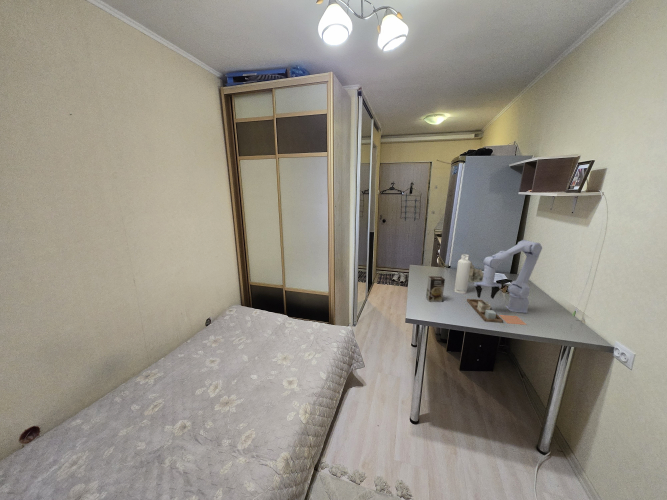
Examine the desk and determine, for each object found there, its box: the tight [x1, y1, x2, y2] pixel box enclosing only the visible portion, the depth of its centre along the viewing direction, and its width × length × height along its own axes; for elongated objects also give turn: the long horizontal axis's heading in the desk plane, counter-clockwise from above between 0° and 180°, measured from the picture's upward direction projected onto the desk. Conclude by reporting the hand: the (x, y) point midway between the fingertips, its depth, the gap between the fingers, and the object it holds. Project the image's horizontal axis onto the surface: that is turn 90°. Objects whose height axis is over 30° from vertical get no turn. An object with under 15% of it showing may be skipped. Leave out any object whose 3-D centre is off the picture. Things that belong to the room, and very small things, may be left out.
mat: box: [498, 314, 528, 326], centre depth 143 cm, size 10×10×1 cm
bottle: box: [454, 253, 472, 295], centre depth 180 cm, size 8×8×28 cm
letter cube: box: [477, 301, 492, 312], centre depth 153 cm, size 5×5×5 cm
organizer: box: [466, 298, 504, 324], centre depth 153 cm, size 10×27×2 cm, turn 172°
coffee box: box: [425, 275, 446, 303], centre depth 167 cm, size 9×6×16 cm
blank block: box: [485, 309, 497, 319], centre depth 144 cm, size 4×4×4 cm
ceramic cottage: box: [468, 261, 484, 284], centre depth 205 cm, size 16×16×15 cm
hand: (485, 297), depth 151 cm, fingers open, 7 cm apart
